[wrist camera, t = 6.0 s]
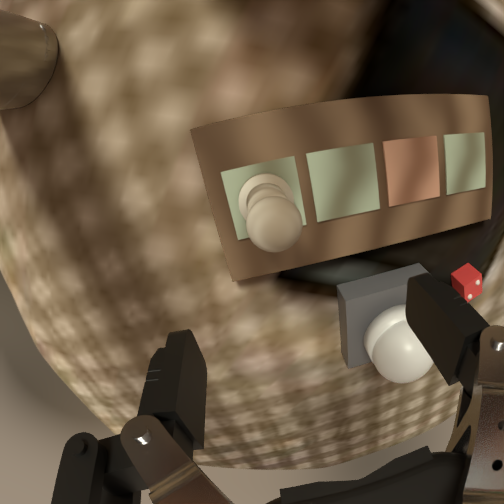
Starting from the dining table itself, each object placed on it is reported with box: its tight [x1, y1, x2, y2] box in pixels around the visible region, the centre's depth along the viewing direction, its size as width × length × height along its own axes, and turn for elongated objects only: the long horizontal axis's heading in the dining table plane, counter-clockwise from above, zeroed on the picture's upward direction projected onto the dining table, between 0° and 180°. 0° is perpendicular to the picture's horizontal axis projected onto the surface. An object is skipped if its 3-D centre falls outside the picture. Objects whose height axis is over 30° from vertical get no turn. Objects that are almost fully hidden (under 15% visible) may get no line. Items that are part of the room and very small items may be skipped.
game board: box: [190, 94, 493, 282], centre depth 25 cm, size 30×14×2 cm, turn 103°
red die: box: [451, 263, 482, 303], centre depth 31 cm, size 3×3×3 cm
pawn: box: [238, 173, 303, 252], centre depth 22 cm, size 4×4×8 cm
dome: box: [364, 304, 433, 383], centre depth 27 cm, size 7×7×7 cm
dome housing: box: [337, 263, 430, 369], centre depth 32 cm, size 10×10×3 cm
